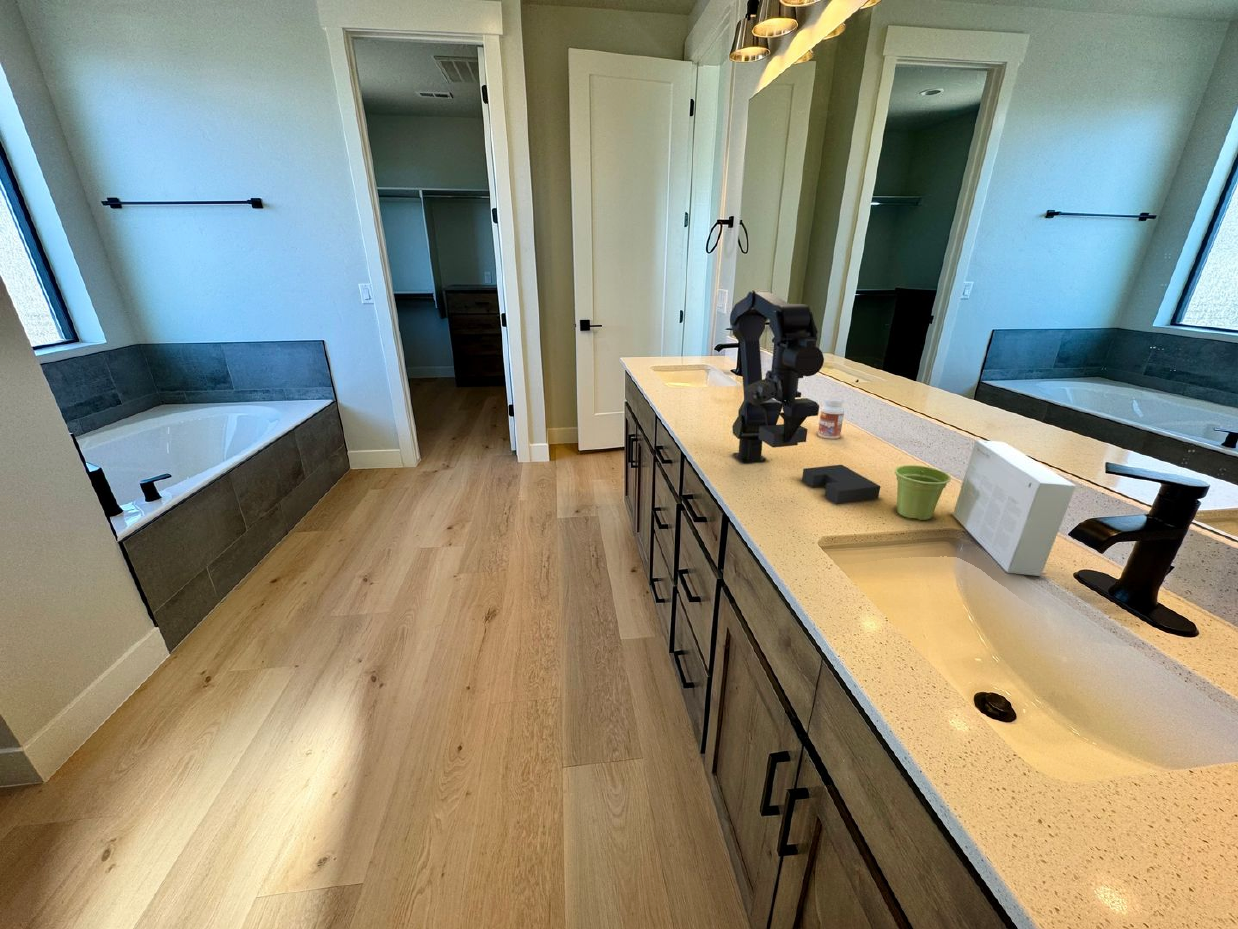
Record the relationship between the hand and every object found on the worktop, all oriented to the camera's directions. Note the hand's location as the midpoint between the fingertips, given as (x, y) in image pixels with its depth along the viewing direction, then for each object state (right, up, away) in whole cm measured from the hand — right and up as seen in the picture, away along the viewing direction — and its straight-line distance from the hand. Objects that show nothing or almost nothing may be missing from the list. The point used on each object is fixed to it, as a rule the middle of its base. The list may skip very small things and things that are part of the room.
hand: (778, 437), depth 109 cm
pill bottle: (+26, +2, +35) cm, 44 cm away
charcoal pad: (+13, -12, 0) cm, 18 cm away
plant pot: (+23, -16, -11) cm, 30 cm away
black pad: (+1, -1, +1) cm, 2 cm away
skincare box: (+31, -20, -22) cm, 43 cm away
